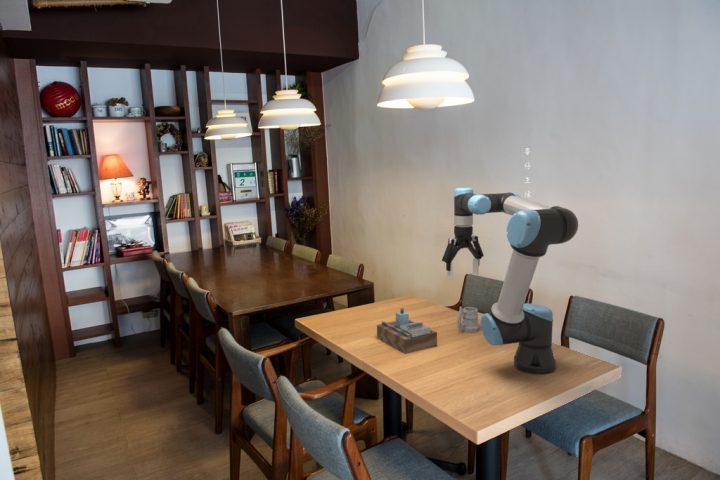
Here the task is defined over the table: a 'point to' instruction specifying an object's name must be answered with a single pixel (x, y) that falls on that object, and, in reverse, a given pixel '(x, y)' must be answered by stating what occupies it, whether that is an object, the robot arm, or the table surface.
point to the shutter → (415, 329)
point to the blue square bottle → (402, 318)
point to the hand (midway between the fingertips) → (463, 276)
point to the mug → (468, 319)
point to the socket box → (405, 338)
